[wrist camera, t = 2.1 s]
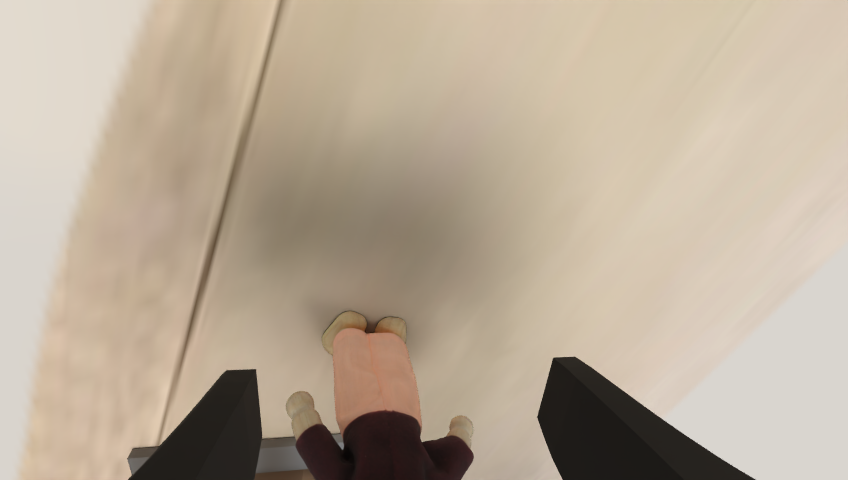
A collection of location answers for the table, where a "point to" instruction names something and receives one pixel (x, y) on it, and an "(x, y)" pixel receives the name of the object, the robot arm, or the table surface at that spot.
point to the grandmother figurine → (375, 412)
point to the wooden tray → (277, 463)
